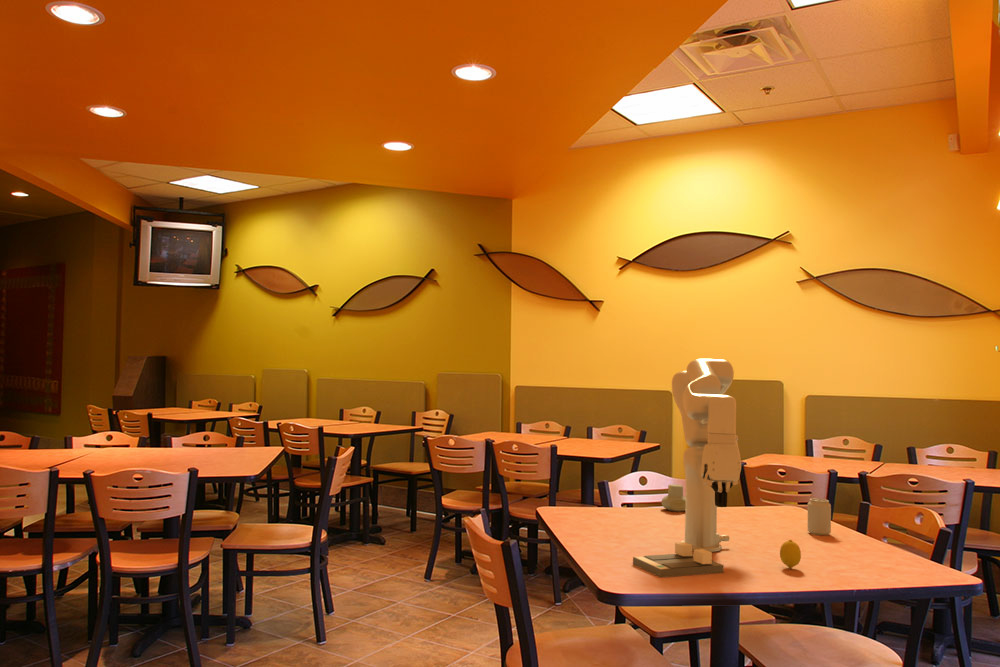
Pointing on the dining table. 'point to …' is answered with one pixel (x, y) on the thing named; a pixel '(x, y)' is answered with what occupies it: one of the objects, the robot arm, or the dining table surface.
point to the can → (819, 517)
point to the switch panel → (675, 565)
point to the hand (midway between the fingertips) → (720, 506)
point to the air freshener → (674, 499)
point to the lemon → (790, 553)
